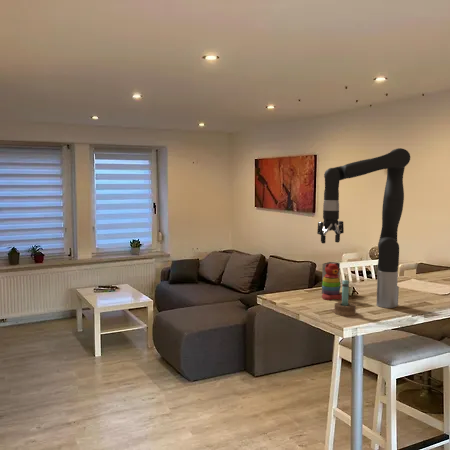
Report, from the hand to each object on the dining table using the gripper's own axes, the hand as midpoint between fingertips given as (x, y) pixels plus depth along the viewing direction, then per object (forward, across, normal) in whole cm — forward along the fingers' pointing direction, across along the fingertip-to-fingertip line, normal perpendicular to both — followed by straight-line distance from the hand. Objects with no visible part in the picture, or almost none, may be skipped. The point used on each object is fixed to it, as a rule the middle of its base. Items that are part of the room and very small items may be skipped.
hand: (330, 242), depth 231 cm
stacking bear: (+30, +9, +9) cm, 33 cm away
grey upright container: (+30, +16, +18) cm, 39 cm away
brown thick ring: (+30, -5, -17) cm, 35 cm away
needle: (+30, -5, -17) cm, 35 cm away
